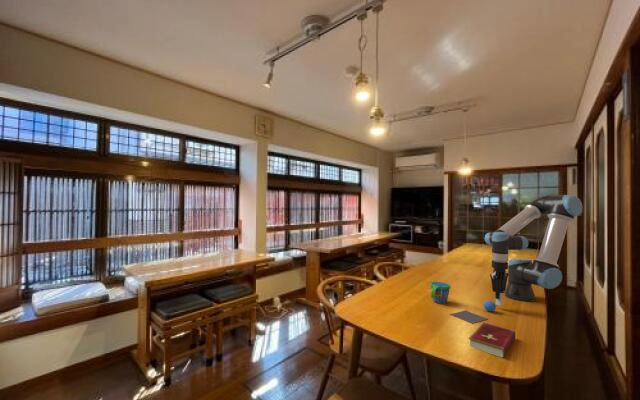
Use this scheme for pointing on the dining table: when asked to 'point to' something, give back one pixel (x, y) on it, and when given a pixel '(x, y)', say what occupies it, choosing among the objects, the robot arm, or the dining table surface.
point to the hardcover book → (492, 339)
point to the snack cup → (440, 292)
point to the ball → (489, 306)
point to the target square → (469, 317)
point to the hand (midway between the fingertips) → (498, 304)
